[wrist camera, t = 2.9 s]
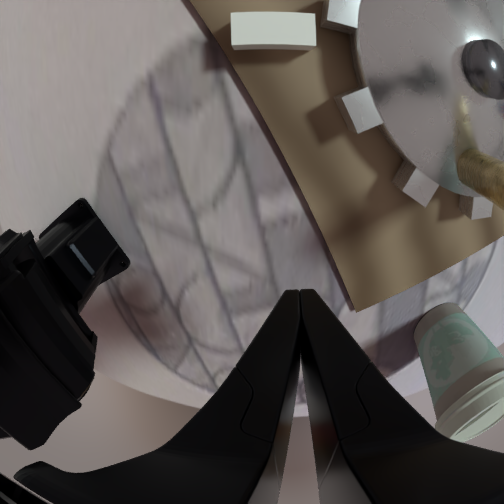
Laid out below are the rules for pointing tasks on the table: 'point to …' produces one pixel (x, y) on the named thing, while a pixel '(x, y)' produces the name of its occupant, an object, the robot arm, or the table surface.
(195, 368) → the table surface
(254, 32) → the pale mint brick
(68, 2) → the table surface
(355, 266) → the sprocket board
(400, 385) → the table surface
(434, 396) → the coffee cup
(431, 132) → the sprocket
